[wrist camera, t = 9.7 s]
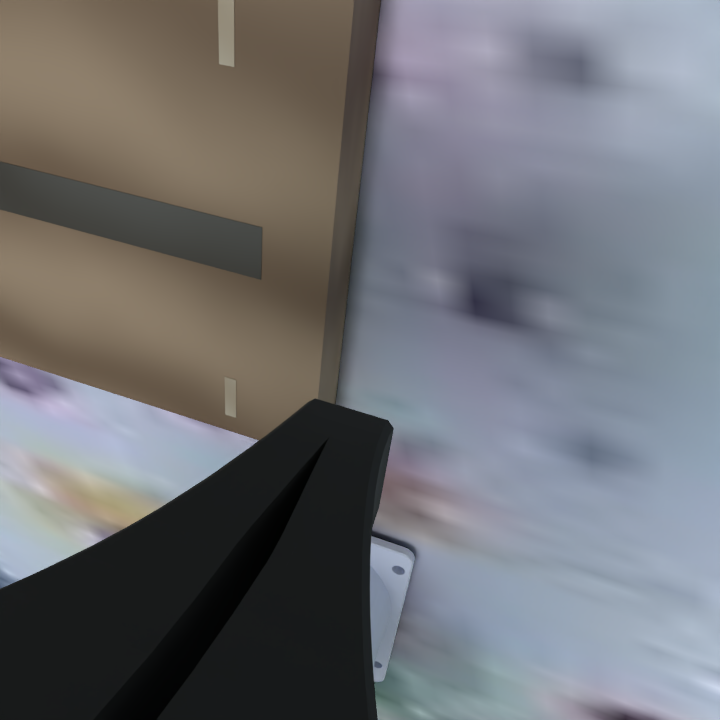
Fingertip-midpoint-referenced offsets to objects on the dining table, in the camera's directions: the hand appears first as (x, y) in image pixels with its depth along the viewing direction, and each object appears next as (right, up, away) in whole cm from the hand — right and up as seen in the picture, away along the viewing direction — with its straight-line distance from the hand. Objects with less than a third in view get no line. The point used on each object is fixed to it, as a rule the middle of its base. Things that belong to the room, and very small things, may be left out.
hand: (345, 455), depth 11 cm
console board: (-10, +8, +11) cm, 17 cm away
